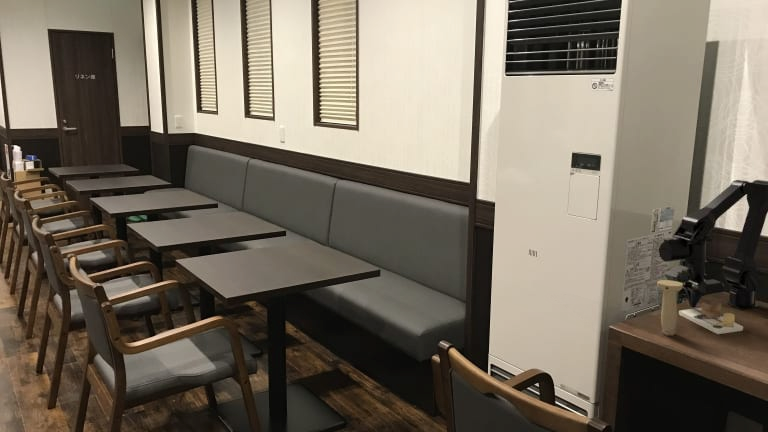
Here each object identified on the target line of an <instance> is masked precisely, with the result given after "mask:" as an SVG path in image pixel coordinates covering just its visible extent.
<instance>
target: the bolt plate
mask: <svg viewBox="0 0 768 432" xmlns="http://www.w3.org/2000/svg"><path fill="white" fill-rule="evenodd" d="M701 310H702V307H697V308H696V307H694V308H688V309H682V310H679V311H678V315H680V316H681V317H683V318H685V319H687V320H688V321H691V322H693V323H694V324H697V325H699V326H701V327H703V328H705V329H707V330H708V331H711V332H712V333H714V334H716V335H720V334H727V333H729V334H730V333H735V332H741V331H744V326H743V325H741V324H739V323H736V321H735V316H736V315H735V314H734V313H731V312H724V313H723V314H722V315H721V317H716V318H709V319H708V318H706V317H701V318H697V315H701Z"/></svg>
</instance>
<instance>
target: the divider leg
mask: <svg viewBox="0 0 768 432" xmlns="http://www.w3.org/2000/svg"><path fill="white" fill-rule="evenodd" d="M701 308H702V310H701V315H697V318H701V317H706V318H708V319H709V318H716V317H721V316H722V303H721V302H718V301H715V300H707V301H703V302H702V301H701Z"/></svg>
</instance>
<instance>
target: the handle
mask: <svg viewBox="0 0 768 432" xmlns="http://www.w3.org/2000/svg"><path fill="white" fill-rule="evenodd" d="M656 283H657V284H656V285H657V288H659V289H660V290H661V291H662V301H661V302H662V304H661V310H660V311H661V315H660V320H661V322H660V323H661V324H660V325H661V328H662V329H661V332H662V334H663V335H665V336H674V335H675V334H676V328H677V320H678V314H677V313H678V311H677V310H678V309H677V307H678V306H677V292H679V291H681V290H683V289H684V288H683V283H680V282H677V281H671V280H667V279H660V280H657V282H656Z"/></svg>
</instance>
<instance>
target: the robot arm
mask: <svg viewBox="0 0 768 432" xmlns="http://www.w3.org/2000/svg"><path fill="white" fill-rule="evenodd" d="M745 196H746V202H747V205H748V211H747V213H746V217H745V220H744V224H743V227H742V230H741V232H740V237H739V240H738V242H737V247H736V249H735V252H734V253H733V254H732V255H731V256H726V257H725V258H724V263H723V266H721V269H722V275H723V277H724V279H725V283H726V284H727V285H729V286H730V285H731V286H730V291H729V297H728V298H729V300H728V301H726V302H725V304H727V305H728V306H729V305H730V306H732V307H734V308H736V309H738V310H748V309H754V308H755V309H756V308H759V307H760V305H758V304H756V296H757V295H756V294H757V293H756V292H758V290H762V287H763V284H764V282H762V281H761V279H759V277H758V276H757V275H756V271H757V265H756V261H755V255H756V251H757V248H758V244H759V242H760V241H759V240H760V238H761V236H762V232H763V229H764V225H765V221H766V218H767V215H768V180H761V179H756V180H753V181H752V182H751V181H750V182H749V181H748V180H742V179H736V180H732V182H731V183H730V185H729V186H727V187H726V188H725V189H724V190H723V191H722V192H720V194H718V195H717V196H715V197H714V199H711V201H710V202H709V203H707V205H705V206H704V207H701V208H699V209H697V210H694V211H691V212H690V213H688V214H687V215H685V216H684V217H683V218H682V219H681V222H680V224H679V225H678V226H677V228H676V230H675V232H674V233H673V235H672V237H671V238H670V237H665V238H664V239H663V242H662V243H660V245H659V248H658V254H659V257H660V260H662V261H663V262H674V261H679V264H678V265H677V266H674V267H669V268H667V269H666V271H664V272H665V273H664V275H665V278H666V280H671V281H677V282H680V283H683V288H682V289H684V292H685V295H686V297H687V300H688V303H689V306H690V308H691V309H694V308H696V307H697V305H698V303H699V301H700V300H701V298H702V297H703V295H704V294H705V295H711V294H719V293H724V292H725V284H724V283H723V282H722V281H719V280H716V279H708V278H709V275H708V274H706V272H705V271H706V266H709V261H708V260H706V250H707V249H706V248H707V246H706V244H707V243H712V242H713V241H714V240H713V239H712V238H711V237H709V234H710V232H711V231H712V230H713V229H714V228H715V226H716V222H717V220H718V219H719V218H720V217H722V216H723V215H724V214H725V213H726V212H727V211H729V210H730V209H731V208H732V207H733V206H734V205H736V204H737V203H738V202H739V201H741V200H742V199H743V198H744V197H745Z"/></svg>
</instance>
